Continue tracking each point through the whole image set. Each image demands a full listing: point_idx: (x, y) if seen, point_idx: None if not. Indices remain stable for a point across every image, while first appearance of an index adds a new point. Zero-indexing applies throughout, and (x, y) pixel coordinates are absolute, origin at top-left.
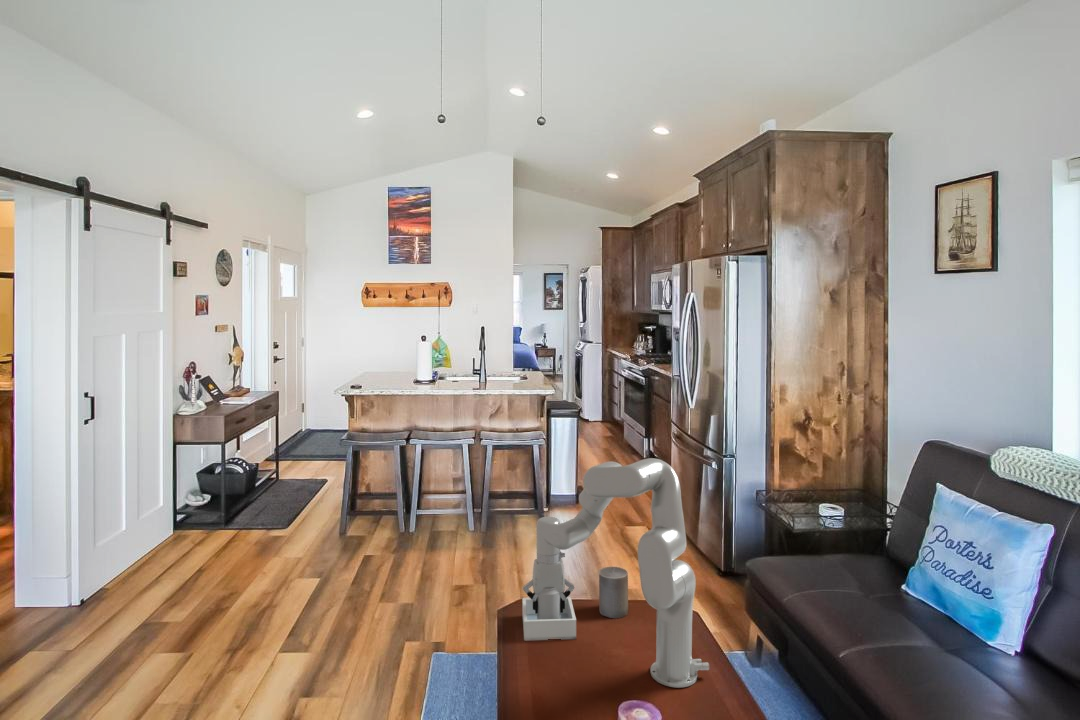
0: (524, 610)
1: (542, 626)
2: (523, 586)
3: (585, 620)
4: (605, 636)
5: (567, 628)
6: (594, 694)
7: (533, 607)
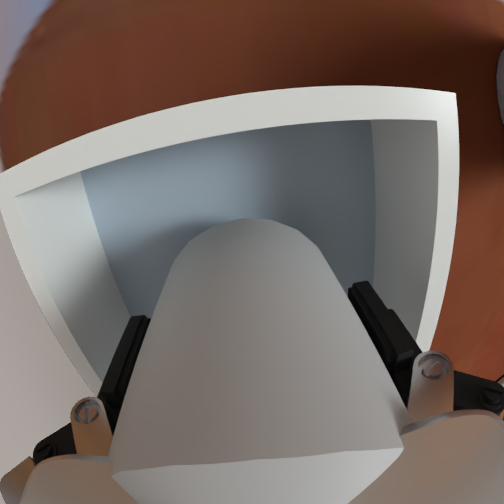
0: (82, 368)
1: None
2: (4, 494)
3: None
4: (471, 303)
5: None
6: None
7: None
